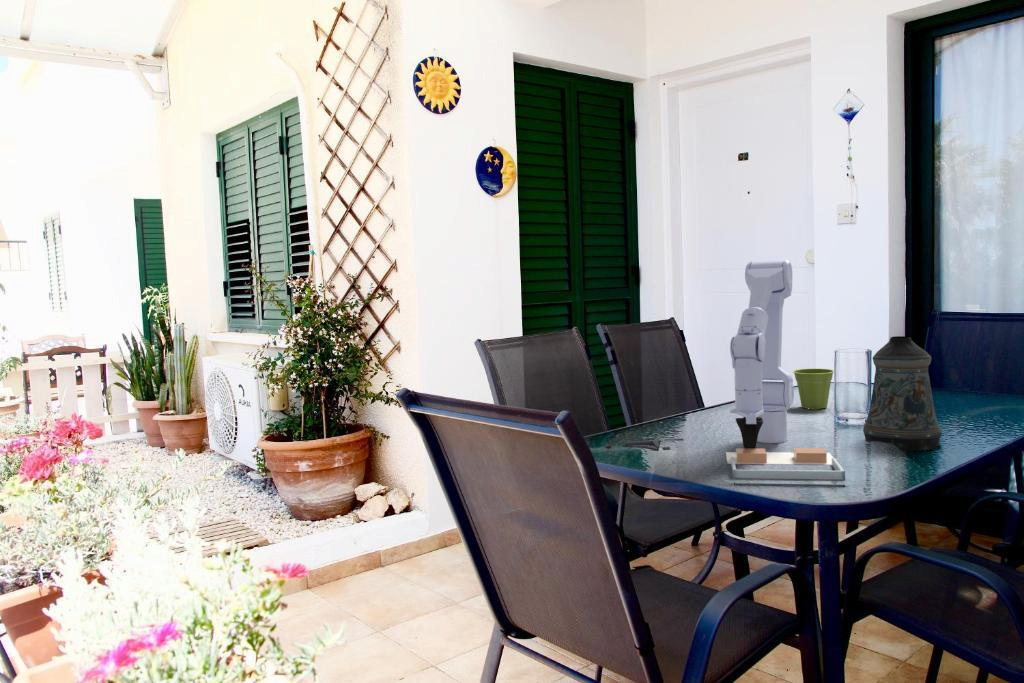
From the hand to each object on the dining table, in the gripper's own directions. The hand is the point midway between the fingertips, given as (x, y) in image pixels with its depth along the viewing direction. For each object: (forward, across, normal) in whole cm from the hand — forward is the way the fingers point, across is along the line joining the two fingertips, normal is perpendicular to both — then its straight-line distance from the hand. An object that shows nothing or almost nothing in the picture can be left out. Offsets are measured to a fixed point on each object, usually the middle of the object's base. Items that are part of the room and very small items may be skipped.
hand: (749, 451), depth 174 cm
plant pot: (+3, -73, +23) cm, 77 cm away
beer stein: (+3, -23, +35) cm, 42 cm away
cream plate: (+3, +1, +6) cm, 7 cm away
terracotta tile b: (+1, +3, +12) cm, 12 cm away
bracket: (+4, -13, -20) cm, 24 cm away
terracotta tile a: (+1, +3, 0) cm, 4 cm away
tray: (+3, +13, +6) cm, 14 cm away
